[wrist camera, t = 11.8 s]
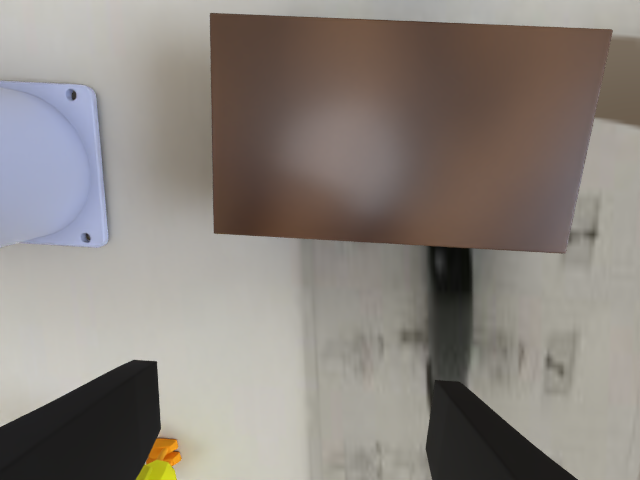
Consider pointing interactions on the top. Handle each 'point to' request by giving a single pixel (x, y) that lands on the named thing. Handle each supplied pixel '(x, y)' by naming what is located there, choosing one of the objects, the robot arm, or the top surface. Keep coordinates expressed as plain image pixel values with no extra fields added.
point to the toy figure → (161, 461)
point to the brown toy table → (401, 129)
